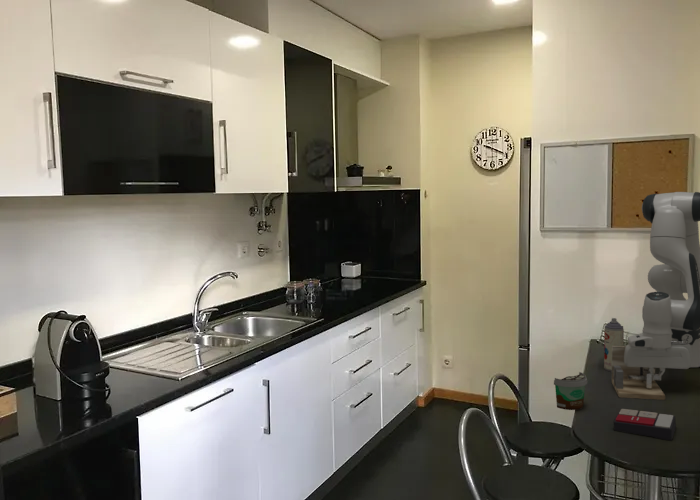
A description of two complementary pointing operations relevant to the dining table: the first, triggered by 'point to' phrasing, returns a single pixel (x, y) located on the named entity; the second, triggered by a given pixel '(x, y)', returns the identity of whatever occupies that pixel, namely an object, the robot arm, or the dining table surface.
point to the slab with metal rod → (643, 378)
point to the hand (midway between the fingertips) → (656, 379)
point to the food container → (570, 392)
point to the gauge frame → (631, 387)
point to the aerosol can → (612, 341)
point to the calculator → (645, 423)
